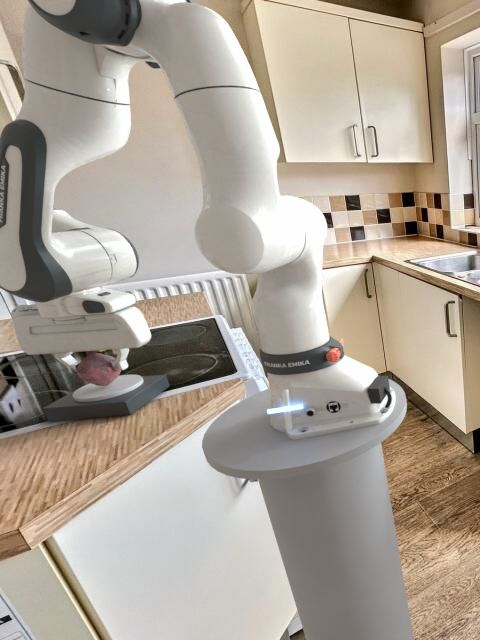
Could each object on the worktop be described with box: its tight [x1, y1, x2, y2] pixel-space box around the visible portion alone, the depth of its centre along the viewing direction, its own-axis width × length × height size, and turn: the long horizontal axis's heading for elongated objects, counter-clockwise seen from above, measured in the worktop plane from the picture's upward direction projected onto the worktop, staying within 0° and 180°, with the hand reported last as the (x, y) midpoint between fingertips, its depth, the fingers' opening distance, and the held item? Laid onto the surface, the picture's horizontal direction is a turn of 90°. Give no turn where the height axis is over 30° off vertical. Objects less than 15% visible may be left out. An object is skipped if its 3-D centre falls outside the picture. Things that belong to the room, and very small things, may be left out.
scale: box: [42, 374, 171, 423], centre depth 84 cm, size 14×12×4 cm
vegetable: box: [76, 351, 122, 386], centre depth 81 cm, size 6×6×10 cm
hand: (100, 370), depth 82 cm, fingers closed on vegetable, 6 cm apart
